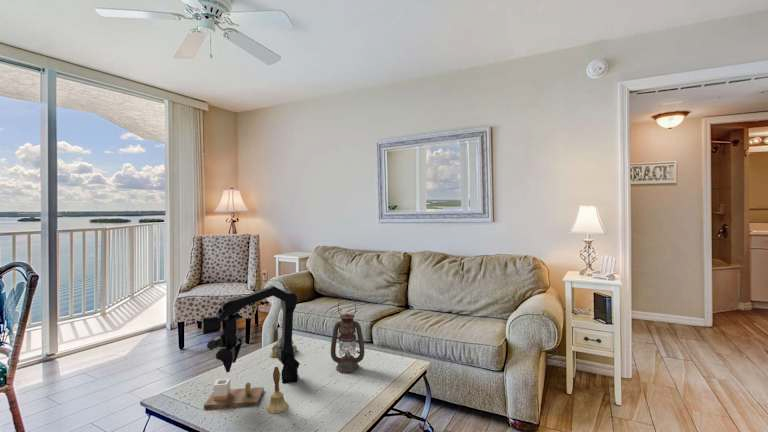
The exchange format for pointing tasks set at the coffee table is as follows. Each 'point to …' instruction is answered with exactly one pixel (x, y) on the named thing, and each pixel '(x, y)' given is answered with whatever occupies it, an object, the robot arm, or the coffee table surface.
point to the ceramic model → (279, 346)
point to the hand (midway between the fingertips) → (231, 367)
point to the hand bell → (277, 396)
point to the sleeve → (221, 389)
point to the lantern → (347, 343)
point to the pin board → (237, 398)
